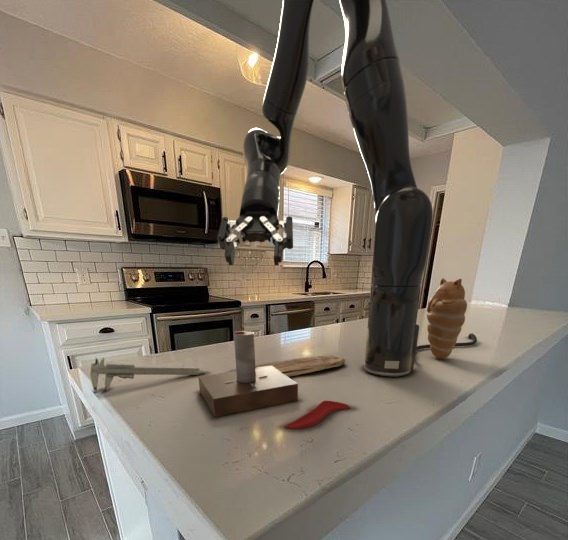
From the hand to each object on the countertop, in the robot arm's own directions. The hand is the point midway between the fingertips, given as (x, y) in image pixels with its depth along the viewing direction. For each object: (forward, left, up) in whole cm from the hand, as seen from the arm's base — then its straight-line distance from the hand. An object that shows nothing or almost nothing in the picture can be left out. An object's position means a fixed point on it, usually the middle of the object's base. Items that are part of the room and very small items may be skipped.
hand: (253, 262), depth 59 cm
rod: (+6, +10, -19) cm, 22 cm away
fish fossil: (-7, 0, -22) cm, 23 cm away
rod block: (+6, +10, -22) cm, 25 cm away
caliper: (+20, -5, -22) cm, 30 cm away
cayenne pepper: (-1, +22, -22) cm, 31 cm away
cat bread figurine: (-42, +9, -22) cm, 48 cm away
